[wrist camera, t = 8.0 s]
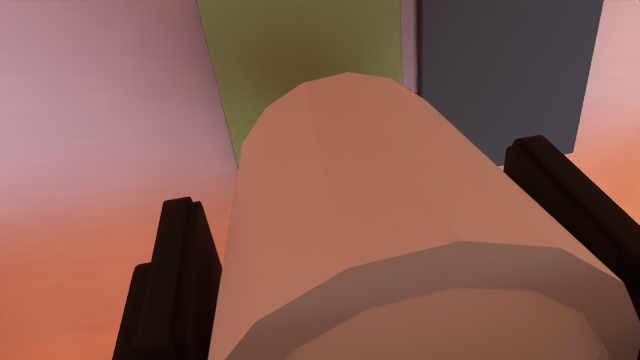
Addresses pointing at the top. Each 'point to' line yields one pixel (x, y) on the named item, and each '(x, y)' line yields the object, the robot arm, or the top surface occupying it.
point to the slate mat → (507, 67)
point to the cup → (399, 244)
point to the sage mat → (293, 49)
